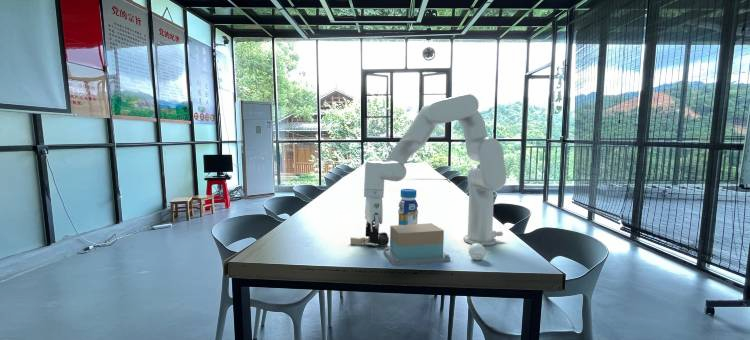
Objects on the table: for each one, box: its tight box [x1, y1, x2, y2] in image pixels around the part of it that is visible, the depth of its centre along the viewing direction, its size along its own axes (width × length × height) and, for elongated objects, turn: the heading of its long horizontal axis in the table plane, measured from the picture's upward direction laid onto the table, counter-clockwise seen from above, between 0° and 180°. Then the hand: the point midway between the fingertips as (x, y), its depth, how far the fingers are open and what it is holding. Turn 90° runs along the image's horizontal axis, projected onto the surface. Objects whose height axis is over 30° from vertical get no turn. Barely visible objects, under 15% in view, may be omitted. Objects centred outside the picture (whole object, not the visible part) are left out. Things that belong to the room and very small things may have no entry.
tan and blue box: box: [383, 223, 451, 267], centre depth 113 cm, size 20×13×10 cm, turn 104°
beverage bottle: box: [397, 188, 419, 225], centre depth 138 cm, size 8×8×20 cm
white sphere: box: [468, 243, 491, 261], centre depth 110 cm, size 8×6×6 cm
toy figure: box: [350, 231, 390, 248], centre depth 126 cm, size 7×6×15 cm
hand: (371, 238), depth 125 cm, fingers closed on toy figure, 6 cm apart
